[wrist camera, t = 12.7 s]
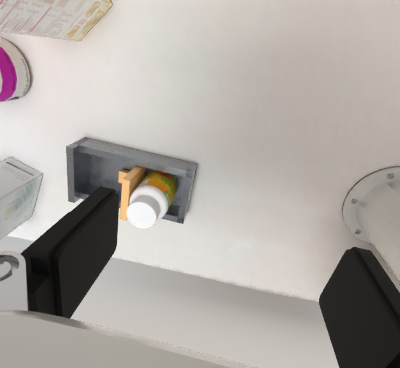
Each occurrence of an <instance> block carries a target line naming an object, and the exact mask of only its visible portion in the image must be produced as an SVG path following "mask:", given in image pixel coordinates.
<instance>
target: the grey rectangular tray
mask: <svg viewBox="0 0 400 368" xmlns="http://www.w3.org/2000/svg"><path fill="white" fill-rule="evenodd" d="M66 153H67V177H68V201H70V202H74V203H75V202H76V201H77V200H79V199H80V198H81V199H86V198H87V197H88V196H89V195H91V194H92V193H93V192H94V191H95V190H96V189H97V188H99V187H100V186H103V187H107V188H112V189H115V191H116V193H117V194H119V208H121V193H122V183H118V179H119V171H120V170H121V169H122V170H126V171H131V170H132V169H133V168H134V167H135V166H136V165H137V166H141V167H145V168H147V169H146V176H147V175H148V173H150V172H151V171H153V170H158V171H162V172H166V173H170V174H173V175H174V176H175V178H176V180H177V183H178V189H177V192H176V194H175V196H174V198H173V200H172V202H171V204H170V206H169V208H168V210H167V212H166V214H165V215H164V216H163V217H162V219H166V220H170V221H174V222H178V223H182V224H183V223H184V220H185V217H186V214H187V211H188V206H189V201H190V196H191V191H192V186H193V182H194V177H195V172H196V167H197V164H196V163H192V162H187V161H183V160H179V159H175V158H171V157H167V156H162V155H158V154H154V153H150V152H146V151H141V150H137V149H133V148H129V147H125V146H120V145H116V144H112V143H108V142H104V141H99V140H95V139H91V138H87V137H85V138H83V139H81V140H79V141H77V142H75V143H73V144H71V145H69V146H66Z"/></svg>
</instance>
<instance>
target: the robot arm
mask: <svg viewBox="0 0 400 368" xmlns="http://www.w3.org/2000/svg"><path fill="white" fill-rule="evenodd" d="M118 212H119V194H117V193H116V191H115V189H112V188H107V187H103V186H100V187H99V188H97V189H96V190H95V191H94V192H93V193H92V194H91V195H89V196H88V197H87V198H86V199H85V200H84V201H82V202H81V203H80V204H79V205H78V206H77V207H76V208H74V209H73V210H72V211H71V212H69V213H67V214H66V215H65V216H64V217H62V218H61V219H60V220H59V221H58V222H57V223H56V224H54V225H53V226H52V227H51V228H50V229H49V230H47V231H46V232H45V233H44V234H43V235H42V236H40V237H39V238H38V239H37V240H36V241H35V242H34V243H32V244H31V245H30V246H29V247H28V248H27V249H26V250H24V251H23V252H22V253H21V254H19V253H16V252H10V251H2V252H0V368H256V367H252V366H249V365H245V364H241V363H237V362H234V361H230V360H226V359H223V358H219V357H215V356H212V355H208V354H204V353H200V352H196V351H193V350H189V349H186V348H182V347H178V346H174V345H170V344H167V343H163V342H159V341H155V340H151V339H148V338H144V337H140V336H136V335H132V334H129V333H125V332H121V331H117V330H113V329H110V328H105V327H102V326H97V325H93V324H89V323H85V322H81V321H77V320H73V319H70V318H71V316H72V315H73V313H74V312H75V310H76V308H77V307H78V306H79V304H80V303H81V301H82V300H83V298H84V297H85V295H86V294H87V292H88V291H89V289H90V288H91V286H92V284H93V283H94V282H95V280H96V279H97V277H98V276H99V274H100V273H101V271H102V270H103V268H104V267H105V265H106V264H107V263H108V261H109V260H110V258H111V257H112V255H113V254H114V252H115V250H116V246H117V232H118ZM343 219H344V221H345V224H346V226H347V227H348V229H349V230H350V232H351V233H352V234H353V235H354V236H356V237H357V238H359V239H360V240H362V241H365V242H367V243H371V244H373V245H374V246H375V248H376V249H377V251H378V252H379V253H380V255H381V256H382V257H383V259H384V260H385V262H386V263H387V264H388V266H389V267H390V269H391V270H392V271H393V273H394V274H395V275H396V277H397V278H398V280H399V281H400V167H395V168H388V169H384V170H380V171H378V172H375V173H373V174H371V175H369V176H367V177H366V178H364V179H362V180H361V181H360V182H359V183H357V184H356V185H355V186H354V187H353V189H352V190H351V191H350V192H349V194H348V196H347V197H346V199H345V202H344V205H343ZM319 305H320V308H321V311H322V314H323V317H324V321H325V323H326V327H327V330H328V333H329V336H330V340H331V343H332V346H333V349H334V352H335V355H336V358H337V362H338V365H339V367H340V368H400V293H399V291H398V290H397V288H396V287H395V285H394V284H393V282H392V281H391V279H390V278H389V277H388V275H387V274H386V272H385V271H384V269H383V268H382V266H381V265H380V263H379V262H378V260H377V259H376V258H375V256H374V255H373V253H372V252H371V251H369V250H365V249H361V248H357V247H353V248H351V249H348V250H346V251H345V253H344V255H343V256H342V258H341V260H340V262H339V264H338V265H337V267H336V269H335V271H334V272H333V274H332V276H331V278H330V279H329V281H328V283H327V285H326V286H325V288H324V290H323V292H322V293H321V295H320V298H319Z"/></svg>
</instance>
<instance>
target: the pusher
mask: <svg viewBox="0 0 400 368" xmlns="http://www.w3.org/2000/svg"><path fill="white" fill-rule="evenodd" d="M146 169H147V168H145V167H141V166H137V165H136V166H135V167H134V168H133V169H132V170H131V171H126V170H122V169H121V170H120V171H119V179H118V183H122V193H121V208H120V219H122V220H126V221H127V219H128V218H127V214H126V211H127V208H128V206H129V205H130V204H129V200H130V196H131V194H132V193H133V191H134V190H135V189H136V188H137V187H138V185H139V184H140V183H141V182H142V180H143V179H144V178H145V177H146Z"/></svg>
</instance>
